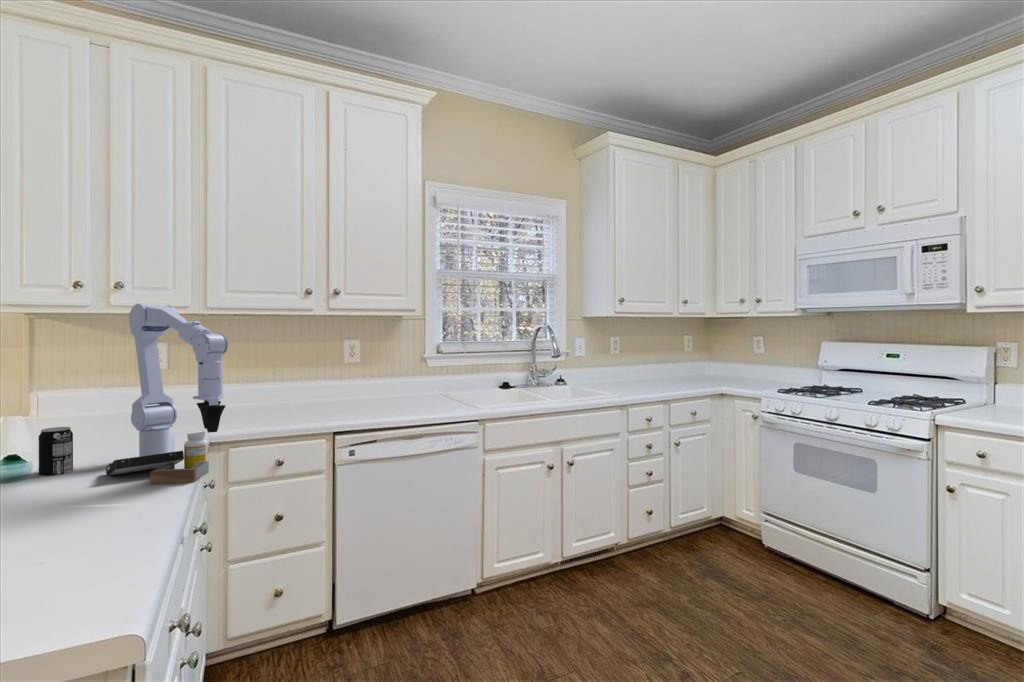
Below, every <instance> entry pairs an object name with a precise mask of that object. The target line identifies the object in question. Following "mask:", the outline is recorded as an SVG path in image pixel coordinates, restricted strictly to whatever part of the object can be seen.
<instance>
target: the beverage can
mask: <svg viewBox="0 0 1024 682" xmlns="http://www.w3.org/2000/svg"><path fill="white" fill-rule="evenodd" d="M73 471H74V433H73V431H72V430H71V427H70V426H57V427H48V428H42V429H41V430H40V433H39V435H38V475H39V476H42V477H44V476H45V477H49V476H50V477H51V476H61V475H65V474H69V473H72V472H73Z"/></svg>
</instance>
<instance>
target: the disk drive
mask: <svg viewBox="0 0 1024 682" xmlns="http://www.w3.org/2000/svg"><path fill="white" fill-rule="evenodd" d="M182 461H184V450H177V451H174V452H169V453H162V454H155V455H148V456H140V457H139V456H135V457H129V458H120V459H114V460H113V461H112V462H110V463H109V464H108V465H107V466H105V473H106V474H107V475H106V474H105V475H106V476H108V475H109V476H116V475H117V476H118V475H123V474H131V473H137V472H143V471H148V470H155V469H157V468H159V467H161V466H163V465H165V464H167V463H173V462H175V465H178V463H181V462H182Z"/></svg>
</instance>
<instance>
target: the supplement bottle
mask: <svg viewBox="0 0 1024 682" xmlns="http://www.w3.org/2000/svg"><path fill="white" fill-rule="evenodd" d="M186 435H187V436H186V437H187V440H186V441H184V445H183V449H184V450H183V454H184V460H183V465H184V468H183V469H190V468H192V467H193V466H195V465H197V464H198V463H200V462H202V461H209V459H208V458H209V457H208V454H209V450H208V449H209V447H208V446H209V444H208V441H207V440H206V439H204V438H205V437H206V432H205V431H202V430H201V431H200V430H199V431H192V432H187V434H186Z"/></svg>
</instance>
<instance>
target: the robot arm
mask: <svg viewBox="0 0 1024 682" xmlns="http://www.w3.org/2000/svg"><path fill="white" fill-rule="evenodd" d="M128 319H129V328H130V334H131V335H133V336H134V344H135V345H134V346H135V351H136V359H137V367H138V375H139V383H140V391H141V395H140V397H138V398H136V400H135V401H134V402H132V403H131V415H130V422H131V424H132V426H133V427H134V428H135V430H136V431H138V436H139V437H138V443H139V445H138V449H139V450H138V453H139V454H138V455H139V456H138V457H140V456H148V455H155V454H162V453H169V452H175V432H174V430H173V425H174V424H175V423H176V421H177V419H178V410H177V408H176V406H175V403H174V398H173V397H171V396H169V395H168V394H166V393H164V386H163V378H162V377H163V376H162V369H161V363H160V362H161V361H160V354H159V346H158V339H159V338H160V337H161V336H164V335H165V334H166V333H167V332H168V331H169V330H170V329H173V330H174V331H177V332H178V337H179V338H180V339H181V340H182V341H184V342H185V343H187V344H189V345H190V346H191V347H192V351H193V352H194V354H195V360H196V363H197V392H198V394H197V395H193V396H192V400H200V401H203V402H197V403H196V406H197V407H198V409H199V412H200V414H201V420H202V424H203V427H204V429H206V431H207V433H208V434H211V433H217V432H218V430H219V426H220V422H221V417H222V414H223V412H224V410H225V408H226V405H225V404H221V403H222V401H220V400H222V399H224V398H225V396H224V390H223V389H224V379H223V378H224V366H223V365H224V360H223V359H224V355H225V353H227V351H228V346H229V343H228V342H229V341H228V338H227V337H226V336H225V335H224V334H223V333H222V332H220V333H219V332H218V333H214V332H212V330H211V329H210V328H206V327H204V326H203V325H201V322H200V321H199V320H189V321H188V320H187V319H186V318H184V317H183V316H182V315H181V314H179V313H178V309H177V308H175V307H174V306H172V305H161V304H160V305H158V304H142V303H135V304H134V305H133V306H132V307H131V309H130V312H129V313H128Z"/></svg>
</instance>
